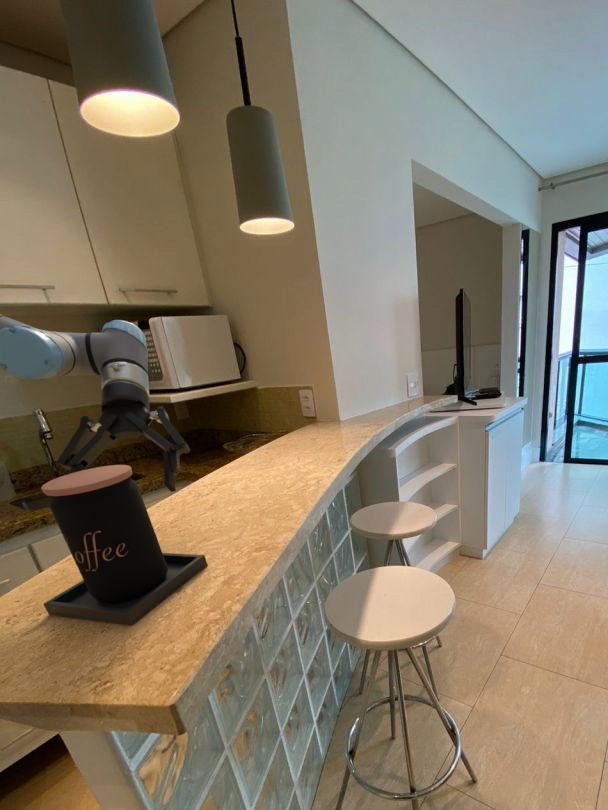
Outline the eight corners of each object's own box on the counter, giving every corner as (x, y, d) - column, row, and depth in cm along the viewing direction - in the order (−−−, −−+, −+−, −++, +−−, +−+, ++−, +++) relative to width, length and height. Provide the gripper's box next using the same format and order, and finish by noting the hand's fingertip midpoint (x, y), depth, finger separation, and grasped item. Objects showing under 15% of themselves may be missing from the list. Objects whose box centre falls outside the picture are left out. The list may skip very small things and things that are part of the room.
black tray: (48, 615, 59) (42, 603, 58) (135, 560, 73) (131, 550, 72) (132, 625, 55) (126, 613, 54) (207, 565, 68) (204, 554, 67)
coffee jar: (75, 604, 60) (20, 490, 53) (131, 566, 70) (91, 465, 63) (134, 608, 57) (84, 489, 50) (184, 568, 67) (148, 463, 60)
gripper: (36, 389, 70) (27, 498, 62) (189, 371, 74) (198, 471, 67) (63, 415, 77) (58, 517, 69) (202, 398, 81) (211, 491, 74)
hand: (127, 495), depth 68 cm, fingers open, 13 cm apart
